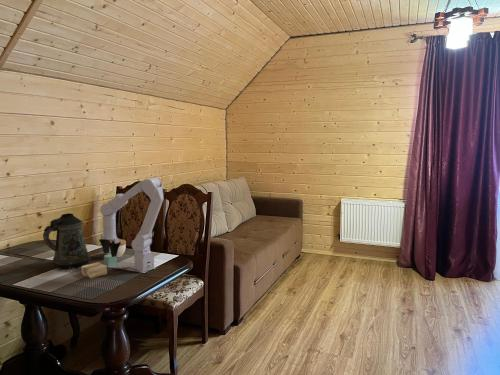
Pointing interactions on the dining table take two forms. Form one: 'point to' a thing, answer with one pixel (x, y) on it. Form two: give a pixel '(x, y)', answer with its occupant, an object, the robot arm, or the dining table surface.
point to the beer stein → (67, 242)
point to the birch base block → (94, 270)
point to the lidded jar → (120, 249)
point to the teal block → (110, 260)
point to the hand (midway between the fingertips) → (110, 254)
